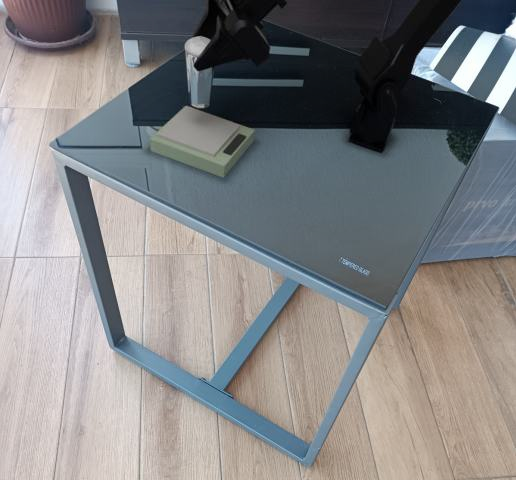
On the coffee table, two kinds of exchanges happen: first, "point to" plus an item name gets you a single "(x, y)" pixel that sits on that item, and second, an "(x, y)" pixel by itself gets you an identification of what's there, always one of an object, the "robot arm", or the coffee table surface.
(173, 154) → the scale
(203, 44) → the milkshake
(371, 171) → the coffee table surface
